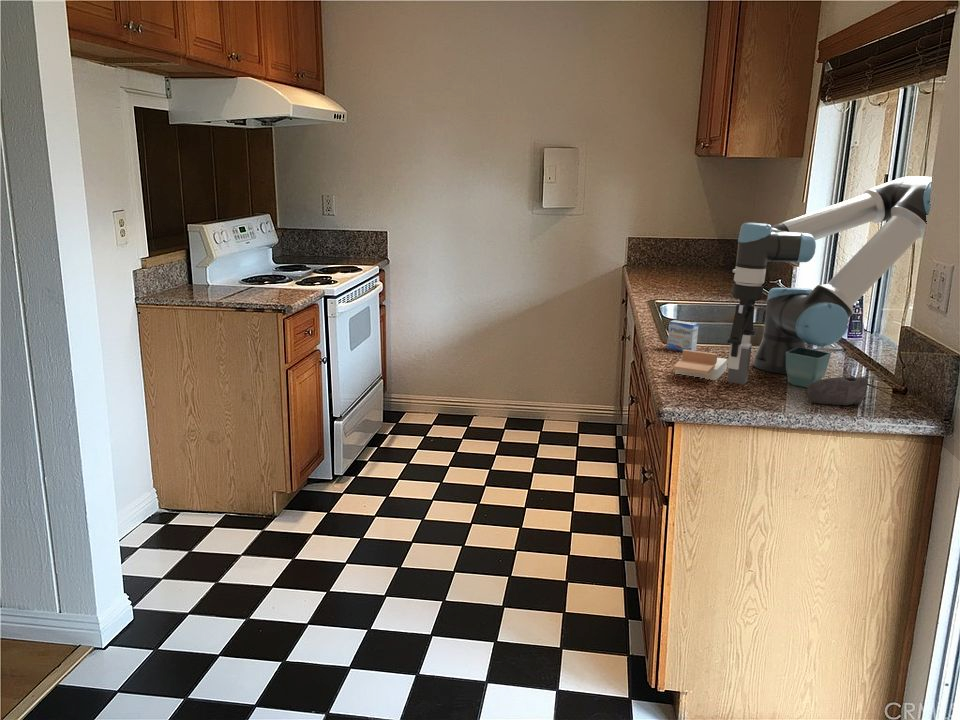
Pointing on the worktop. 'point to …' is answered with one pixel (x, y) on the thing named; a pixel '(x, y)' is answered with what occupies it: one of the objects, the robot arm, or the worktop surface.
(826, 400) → the perforated stone tool
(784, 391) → the worktop surface
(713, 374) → the socket housing
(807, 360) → the flower pot
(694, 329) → the medicine box
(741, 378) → the plug
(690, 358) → the shutter
